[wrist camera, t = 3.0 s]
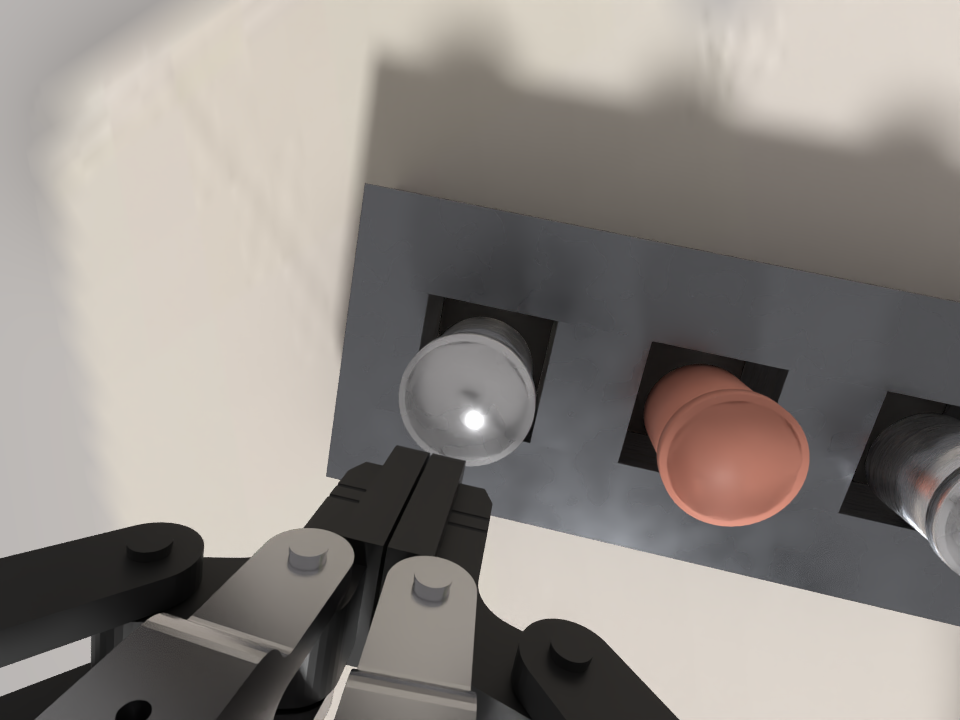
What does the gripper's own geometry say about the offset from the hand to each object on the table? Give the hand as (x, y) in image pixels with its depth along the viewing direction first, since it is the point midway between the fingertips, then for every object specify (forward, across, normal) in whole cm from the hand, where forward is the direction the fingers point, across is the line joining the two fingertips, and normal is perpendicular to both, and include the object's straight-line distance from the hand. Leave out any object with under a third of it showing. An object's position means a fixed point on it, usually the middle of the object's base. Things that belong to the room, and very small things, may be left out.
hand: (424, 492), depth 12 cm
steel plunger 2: (+11, -17, 0) cm, 20 cm away
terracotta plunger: (+11, -9, 0) cm, 14 cm away
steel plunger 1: (+11, 0, 0) cm, 11 cm away
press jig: (+14, -9, 0) cm, 17 cm away
